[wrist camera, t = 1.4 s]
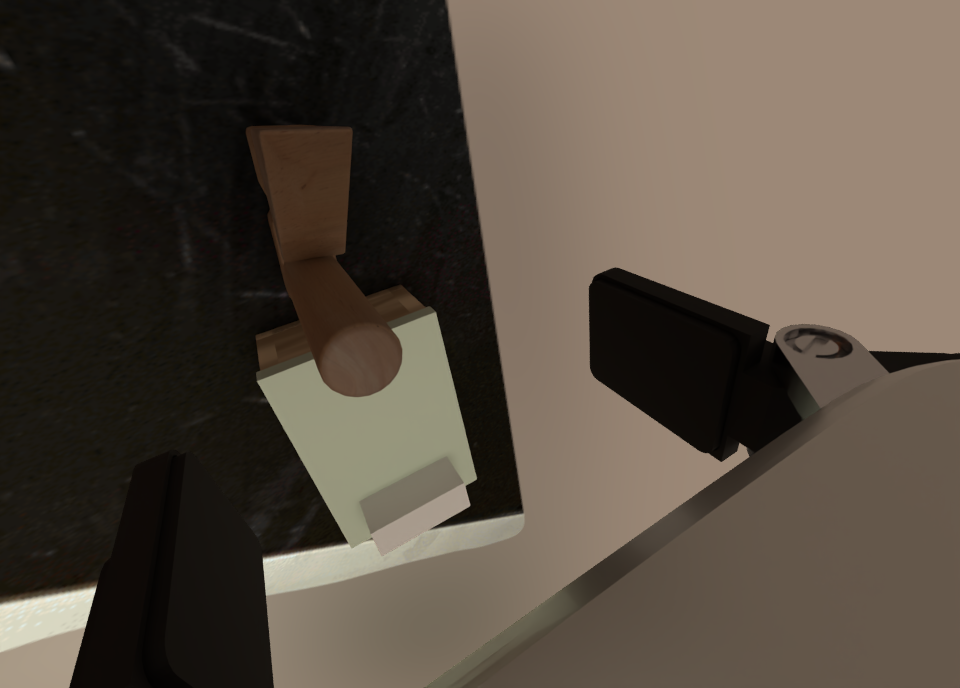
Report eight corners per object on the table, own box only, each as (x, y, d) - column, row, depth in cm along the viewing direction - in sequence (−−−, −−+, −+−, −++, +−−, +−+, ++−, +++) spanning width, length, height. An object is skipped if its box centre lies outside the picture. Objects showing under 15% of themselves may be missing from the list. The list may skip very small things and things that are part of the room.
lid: (256, 372, 27) (260, 411, 23) (429, 306, 31) (456, 330, 28) (348, 537, 37) (361, 583, 33) (471, 471, 41) (495, 505, 37)
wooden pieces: (303, 124, 28) (380, 125, 14) (333, 277, 33) (411, 389, 19) (242, 126, 27) (260, 129, 13) (283, 285, 32) (329, 414, 18)
